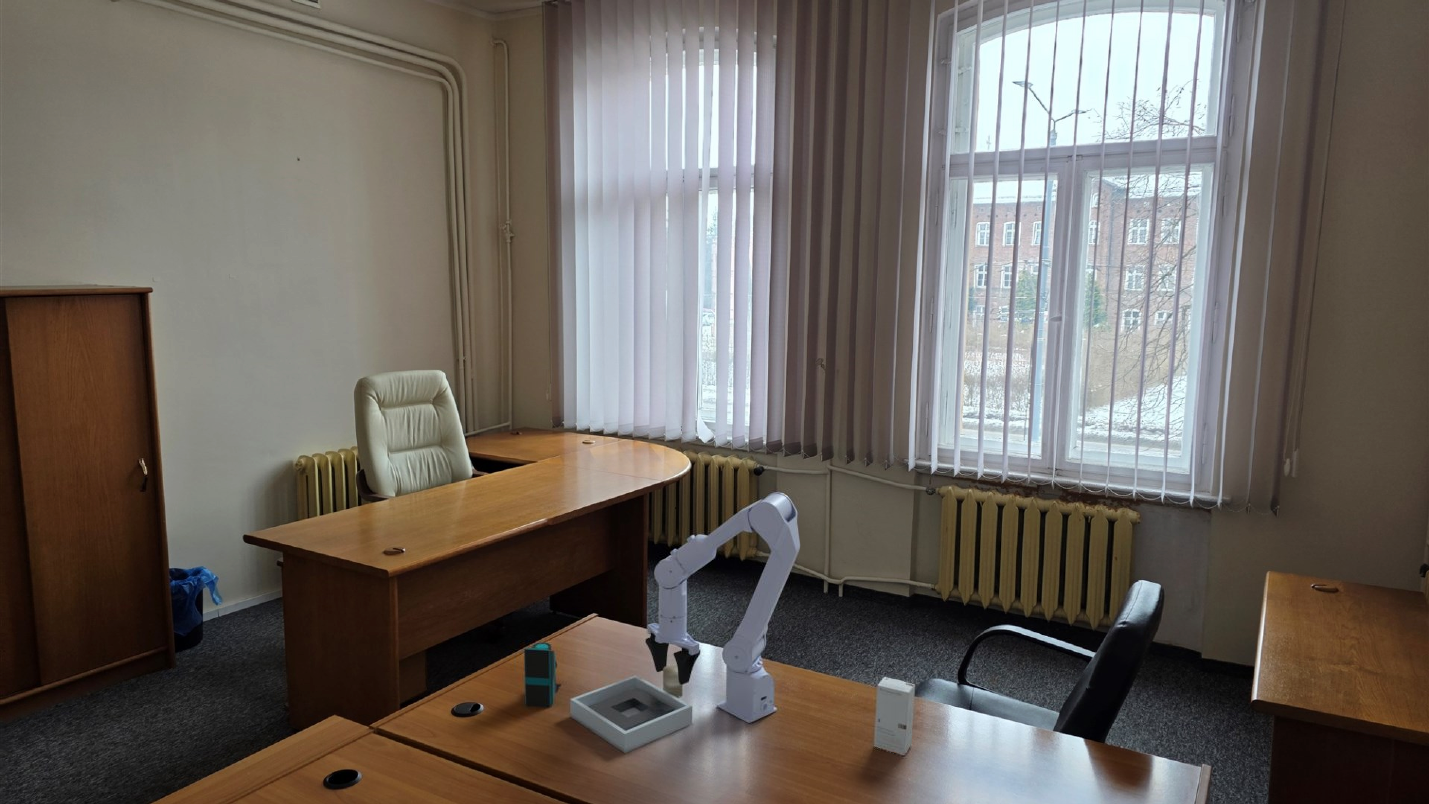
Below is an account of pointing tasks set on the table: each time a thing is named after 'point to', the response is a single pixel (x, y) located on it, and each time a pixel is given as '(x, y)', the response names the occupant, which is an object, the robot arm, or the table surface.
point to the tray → (637, 734)
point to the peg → (671, 681)
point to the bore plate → (626, 701)
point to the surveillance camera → (540, 676)
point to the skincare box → (894, 715)
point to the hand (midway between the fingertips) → (672, 676)
